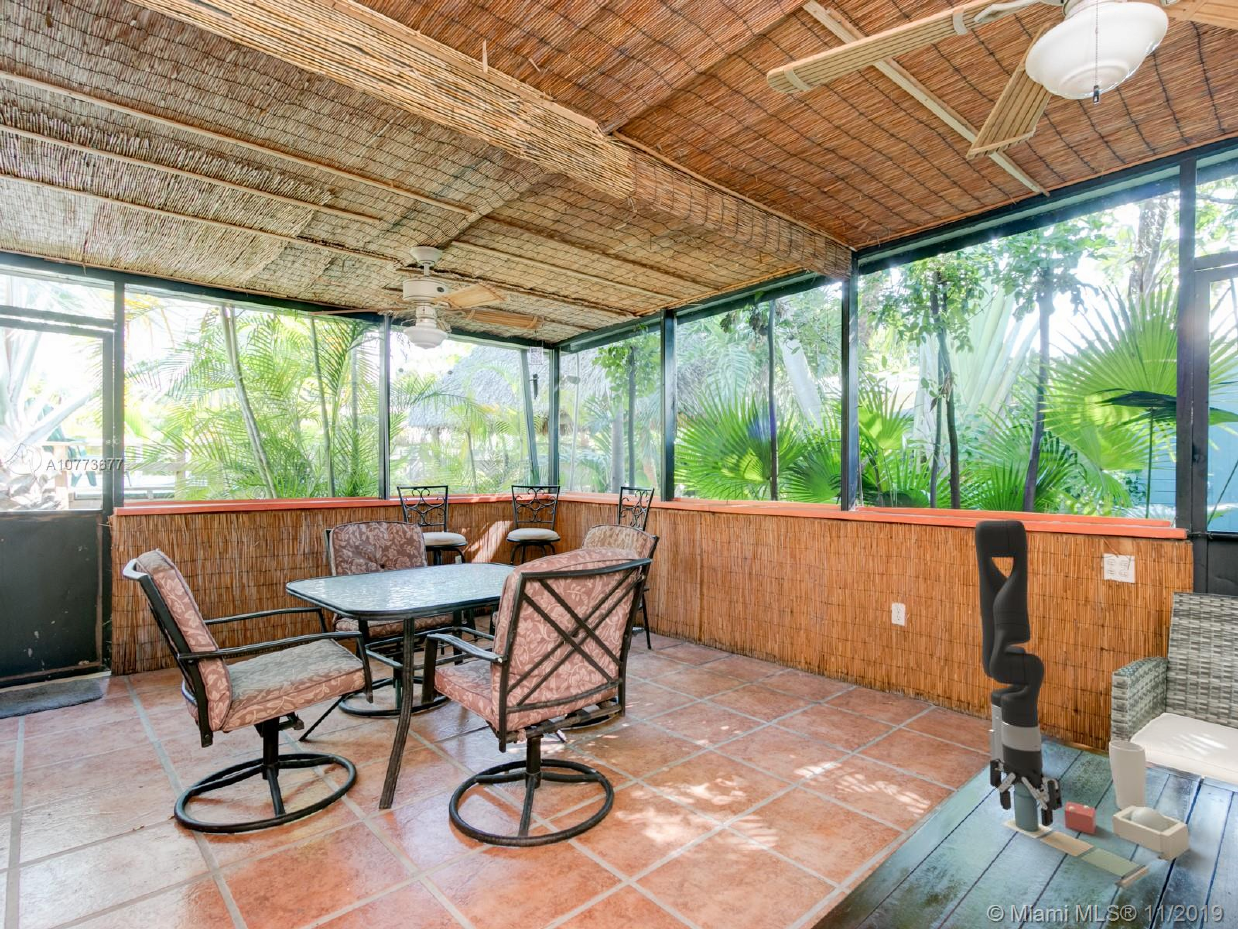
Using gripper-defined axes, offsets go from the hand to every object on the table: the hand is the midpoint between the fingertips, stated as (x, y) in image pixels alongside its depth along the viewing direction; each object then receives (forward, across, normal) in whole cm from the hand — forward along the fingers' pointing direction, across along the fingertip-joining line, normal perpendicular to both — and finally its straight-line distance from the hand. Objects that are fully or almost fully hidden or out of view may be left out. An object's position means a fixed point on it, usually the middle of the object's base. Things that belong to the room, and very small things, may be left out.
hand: (1026, 817), depth 141 cm
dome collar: (+3, +16, +17) cm, 24 cm away
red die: (+3, +6, +10) cm, 12 cm away
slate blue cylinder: (+2, 0, 0) cm, 2 cm away
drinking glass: (+4, +7, +30) cm, 31 cm away
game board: (+4, +8, 0) cm, 9 cm away
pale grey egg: (+3, +16, +17) cm, 24 cm away
